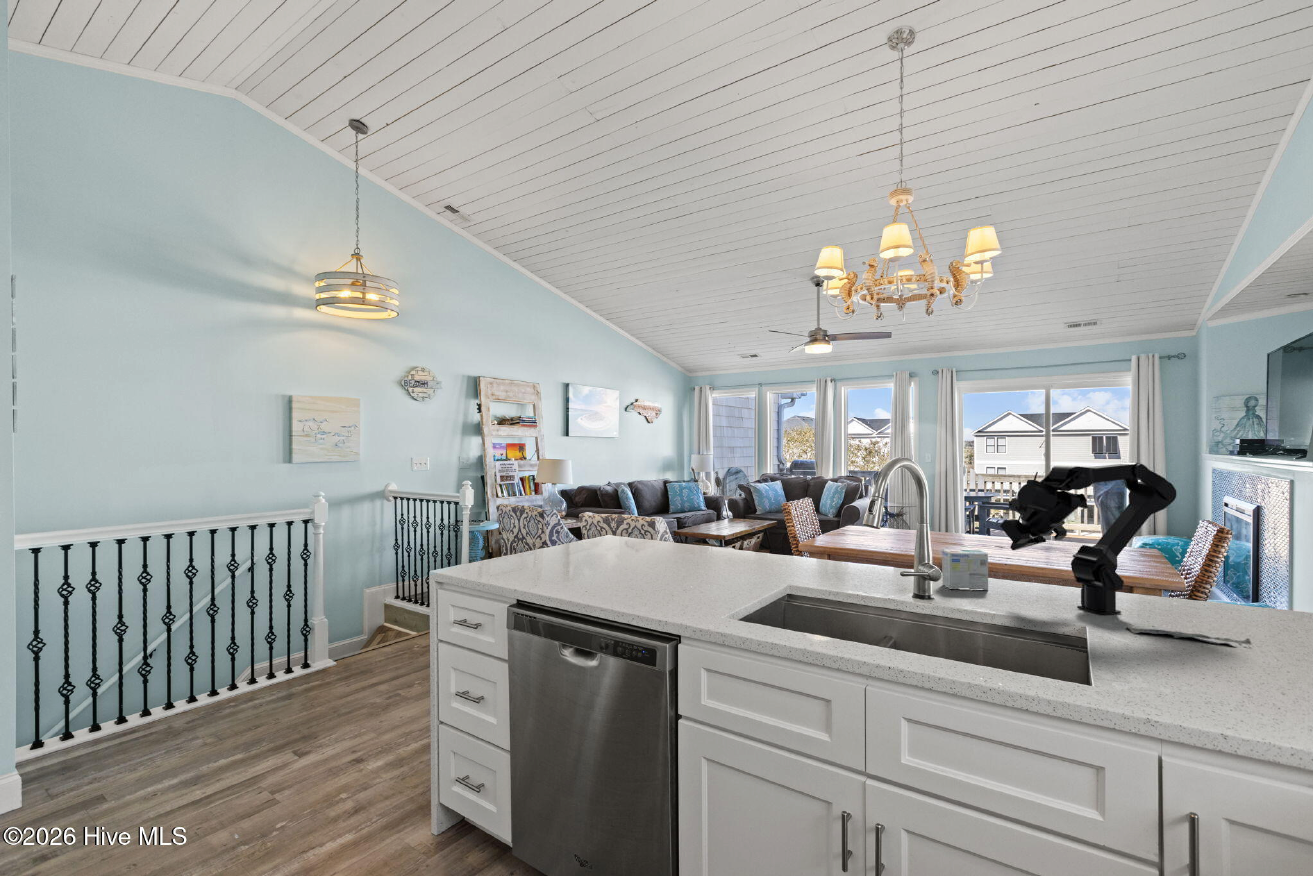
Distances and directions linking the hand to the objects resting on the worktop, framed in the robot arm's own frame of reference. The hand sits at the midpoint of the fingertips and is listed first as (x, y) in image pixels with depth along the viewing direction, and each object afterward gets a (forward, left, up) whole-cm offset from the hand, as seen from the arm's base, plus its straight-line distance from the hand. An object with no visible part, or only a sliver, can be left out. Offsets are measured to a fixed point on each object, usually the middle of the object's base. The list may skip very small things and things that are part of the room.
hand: (1012, 548), depth 159 cm
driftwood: (-35, -11, -14) cm, 39 cm away
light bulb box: (+14, +3, -14) cm, 20 cm away
